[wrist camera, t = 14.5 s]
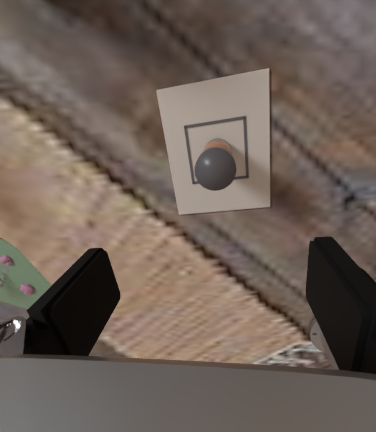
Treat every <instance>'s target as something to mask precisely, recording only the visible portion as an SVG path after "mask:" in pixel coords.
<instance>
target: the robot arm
mask: <svg viewBox="0 0 376 432" xmlns="http://www.w3.org/2000/svg"><path fill="white" fill-rule="evenodd" d="M306 297H307V301H308V303H309V305H310V307H311V309H312V311H313V314H314V316H315V319H314V320H313V321H312V322H311V325H310V327H309V336H310V338H311V341H312V343H313V344H314V345H315V346H316V347H317V348H318V349H319V350H321V351H323V352H325V353H326V355H327V357H328V359H329V362H330V364H331V366H332V368H333V369H320V368H306V367H292V366H276V365H258V364H239V363H221V362H203V361H183V360H163V359H142V358H121V357H97V356H88V355H89V353H90V352H91V350H92V348H93V346H94V344H95V343H96V341H97V339H98V337H99V336H100V334H101V332H102V330H103V329H104V327H105V325H106V323H107V321H108V320H109V318H110V316H111V314H112V313H113V311H114V309H115V307H116V306H117V304H118V302H119V300H120V291H119V288H118V285H117V282H116V279H115V276H114V272H113V269H112V266H111V263H110V260H109V257H108V254H107V252H106V251H104V250H103V249H102V248H91V249H88V250H87V251H86V252H85V253H84V254H83V255H82V256H81V257H80V258H79V259H78V260H77V261H76V262H75V263H74V264H73V265H72V266H71V267H70V268H69V269H68V270H67V271H66V272H65V273H64V274H63V275H62V276H61V277H60V278H59V279H58V280H57V281H56V282H55V283H54V284H53V285H52V286H51V287H50V288H49V289H48V290H47V291H46V292H45V293H44V294H43V295H42V296H41V297H40V298H39V299H38V300H37V301H36V302H35V303H34V304H33V305H32V306H31V307H30V308H29V309H28V310H27V312H28V314H29V316H30V317H29V318H28V319H27V320H26V319H25V318H24V317H21V316H17V317H12V318H9V319H6V320H4V321H2V322H0V432H376V282H375V281H374V280H373V279H372V278H371V277H370V276H369V275H368V274H367V273H366V271H364V270H363V269H362V268H360V267H359V266H358V265H357V264H356V263H355V262H354V261H353V260H352V259H351V258H350V256H349V255H348V254H347V253H346V252H345V251H344V250H343V249H342V248H341V246H340V245H339V244H338V243H337V242H336V241H335V240H334V239H333V238H332V237H316V238H315V239H314V241H310V244H309V256H308V269H307V281H306Z"/></svg>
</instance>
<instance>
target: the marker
mask: <svg viewBox="0 0 376 432" xmlns="http://www.w3.org/2000/svg"><path fill="white" fill-rule="evenodd" d="M194 171H195V177H196V179H197V181H198V182H199V184H200V185H201V186H202V187H204V188H206V189H208V190H212V191H218V190H222V189H224V188H226V187H228V186H229V185H230V184H231V183H232V182H233V180H234V178H235V175H236V164H235V160H234V158H233V156H232V152H231V148H230V145H229V144H228V143H227V142H226V141H225V140H223V139H220V138H216V139H213V140H211V141H209V142H208V143H207V145H206V146H205V148H204V150H203V152H202V153H201V154H200V156H199V158H198V160H197V162H196V164H195V170H194Z"/></svg>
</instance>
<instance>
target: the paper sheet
mask: <svg viewBox="0 0 376 432" xmlns="http://www.w3.org/2000/svg"><path fill="white" fill-rule="evenodd" d="M156 91H157V97H158V102H159V108H160V113H161V119H162V124H163V130H164V135H165V141H166V146H167V152H168V157H169V163H170V168H171V174H172V179H173V185H174V190H175V196H176V201H177V207H178V212H179V215H182V214H193V213H205V212H217V211H228V210H240V209H251V208H263V207H270V111H269V68H267V69H262V70H257V71H252V72H247V73H242V74H236V75H231V76H226V77H221V78H216V79H211V80H206V81H201V82H196V83H190V84H185V85H180V86H175V87H170V88H165V89H160V90H156ZM216 138H220V139H223V140H225V141H226V142H227V143H228V144H229V145H230V148H231V152H232V156H233V158H234V160H235V164H236V175H235V178H234V180H233V182H232V183H231V184H230V185H229V186H228V187H226V188H224V189H222V190H218V191H212V190H208V189H206V188H204V187H202V186H201V185H200V184H199V182H198V181H197V179H196V177H195V171H194V170H195V164H196V162H197V160H198V158H199V156H200V154H201V153H202V152H203V150H204V148H205V146H206V145H207V143H208V142H209V141H211V140H213V139H216Z"/></svg>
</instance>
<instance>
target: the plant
mask: <svg viewBox="0 0 376 432" xmlns="http://www.w3.org/2000/svg"><path fill="white" fill-rule="evenodd" d="M51 286H52V285H51V284H50V283H49V282H48V281H47V280H46V279H45V278H44V277H43V276H42V275H41V273H40V272H39V271H38V270H37V269H36V268H35V267H34V266H33V265H32V264H31V263H30V262H29V261H28V260H27V259H26V257H25V256H24V255H23V254H22V253H21V252H20V251H19V250H18V249H17V248H16V247H14V246H13V245H12V244H10V243H8V242H7V241H5V240H3V239H1V238H0V301H2V302H5V303H8V304H11V305H15V306H18V307H22V308H26V309H29V308H30V307H31V306H32V305H33V304H34V303H35V302H36V301H37V300H38V299H39V298H40V297H41V296H42V295H43V294H44V293H45V292H46V291H47V290H48V289H49V288H50V287H51Z"/></svg>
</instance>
